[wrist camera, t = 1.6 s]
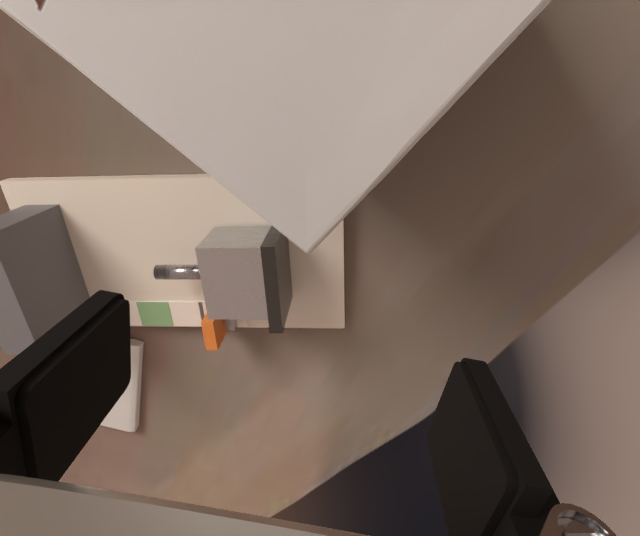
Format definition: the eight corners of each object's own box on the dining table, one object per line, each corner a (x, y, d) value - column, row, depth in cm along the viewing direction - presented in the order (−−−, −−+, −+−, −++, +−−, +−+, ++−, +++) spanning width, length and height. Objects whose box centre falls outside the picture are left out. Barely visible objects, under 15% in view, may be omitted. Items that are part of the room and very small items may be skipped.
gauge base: (343, 171, 31) (340, 200, 24) (344, 321, 37) (342, 381, 30) (10, 177, 33) (-87, 206, 26) (63, 318, 39) (-4, 373, 32)
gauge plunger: (286, 220, 32) (274, 246, 27) (294, 322, 36) (285, 361, 31) (160, 221, 32) (125, 247, 27) (182, 321, 37) (155, 359, 32)
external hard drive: (71, 405, 46) (67, 318, 40) (141, 422, 46) (146, 338, 40) (62, 416, 44) (56, 327, 39) (134, 433, 44) (138, 348, 39)
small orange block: (223, 303, 35) (212, 322, 32) (227, 330, 36) (217, 350, 34) (212, 303, 35) (200, 322, 32) (217, 329, 36) (206, 350, 34)
